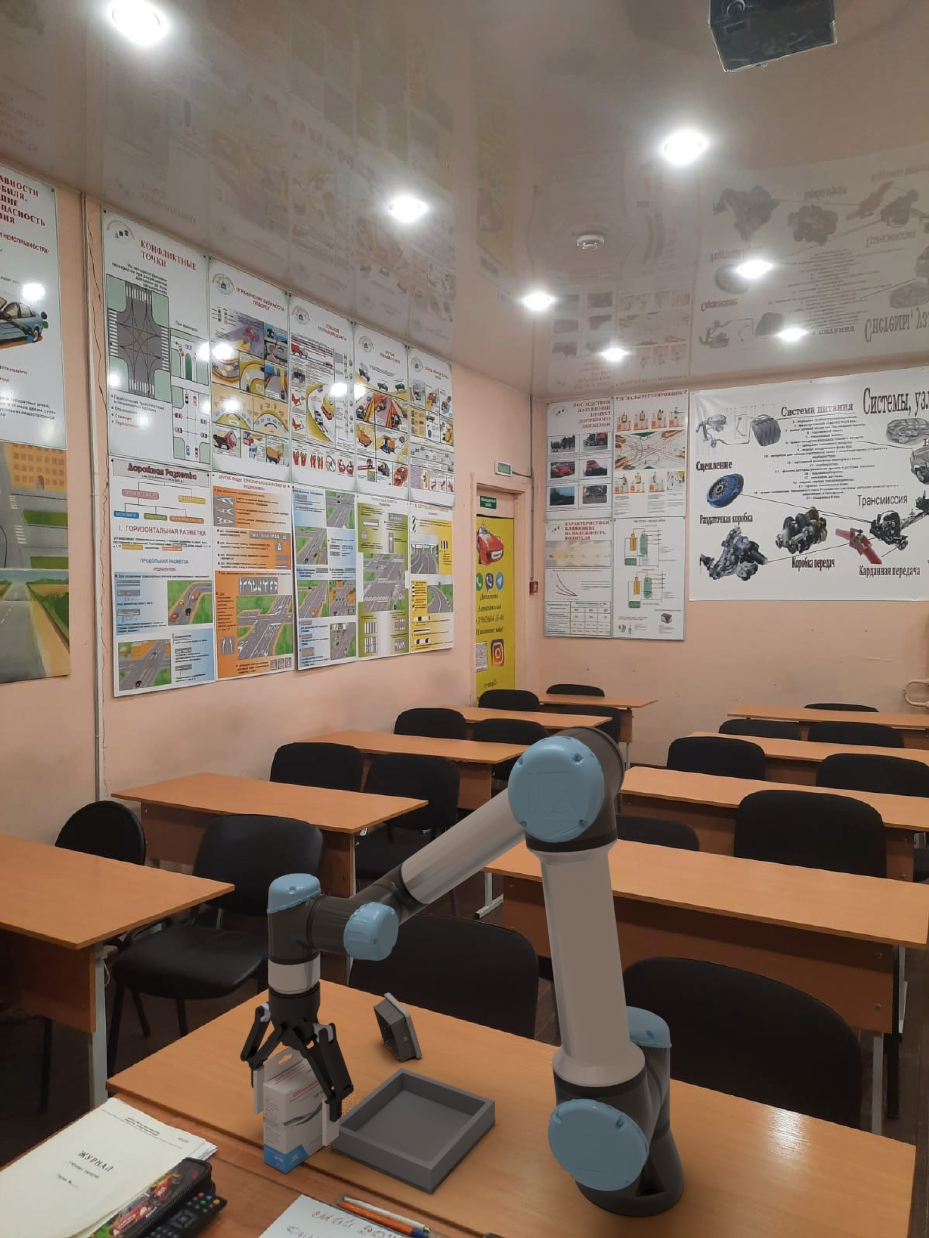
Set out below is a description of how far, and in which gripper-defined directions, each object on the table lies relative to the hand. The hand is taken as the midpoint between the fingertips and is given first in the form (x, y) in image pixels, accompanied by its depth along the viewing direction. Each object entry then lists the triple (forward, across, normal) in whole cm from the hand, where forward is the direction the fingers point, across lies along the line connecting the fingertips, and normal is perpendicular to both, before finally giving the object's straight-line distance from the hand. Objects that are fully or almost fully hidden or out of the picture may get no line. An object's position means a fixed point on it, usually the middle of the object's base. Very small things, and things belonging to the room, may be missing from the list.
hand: (295, 1124), depth 121 cm
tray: (+4, -13, -12) cm, 18 cm away
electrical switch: (+4, +3, -30) cm, 30 cm away
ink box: (+4, 0, 0) cm, 4 cm away
